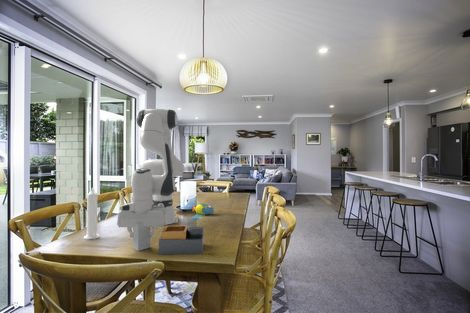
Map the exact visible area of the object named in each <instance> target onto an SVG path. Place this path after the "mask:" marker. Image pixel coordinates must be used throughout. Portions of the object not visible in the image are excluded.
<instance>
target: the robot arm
mask: <svg viewBox="0 0 470 313" xmlns="http://www.w3.org/2000/svg"><path fill="white" fill-rule="evenodd" d="M135 118H136V119H135V120H136V124H137V126H138V127H139V128H140V136H139V142H140V145H141V146H142V148H143V149H144V150H146V151H147V152H150V153H152V154H155V155H157V156H159V157H160V158H158V159H156V158H154V159H153V158H151V159H148V160H145V161H143V162H142V164H141V167H140V168H137V169H135V170H134V171H133V173H132V179H131V191H132V192H131V193H132V197H131V201H129V202H127V203H124V204H122V205H120V206H119V210H120V211H119V212H118V215H117V224H116V225H117V226H118V228H126V229H127V232H128V233H129V238H133V227H135V222H143V226H144V227H150V228H151V230H152V231H150V233H149V235H150V236H149V237H150V238H154V237H155V236H154V233H155V231H156V229H157V228H158V227H159V228H160V227H161V228H163V227H165V226H168V225H171V224H176V223H179V218H178V216H177V214H176V213H175V212H176V211H175V208H174V205H173V203H174V202H173V200H174V199H173V193H174V192H175V190H176V181H175V177H176V178H177V177H181V176H182V175H183V174H184V172H185V164H184V163H183V161H181V160H180V159H179V158H177V156H176V155H175V153H174V150H173V147H172V135H171V130H172V129H175V128H176V127H177V124H178V122H179V119H178V113H177V112H176V111H175V110H173V109H164V108H149V109H146V108H145V109H139V110H138V111H137V113H136V117H135ZM161 158H162V159H161Z"/></svg>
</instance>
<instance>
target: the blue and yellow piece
mask: <svg viewBox="0 0 470 313" xmlns="http://www.w3.org/2000/svg"><path fill="white" fill-rule="evenodd" d="M191 209H192V210H191V211H192V212H194V211H195V213H196V214H194V215H193V216H192V217H191V218H192V219H191V220H200V218H199V217H201V216H203V217H204V215H205V214H206V215H209V214H214V212H215V211H214V210H215V207H214V206H212V205H208V204H206V203H199V204H197V205H192V206H191ZM206 215H205V216H206ZM201 218H202V217H201Z"/></svg>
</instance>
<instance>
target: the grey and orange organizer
mask: <svg viewBox="0 0 470 313" xmlns="http://www.w3.org/2000/svg"><path fill="white" fill-rule="evenodd" d="M204 232H205V231H204V227H202V226H197V225H194V226H189V225H165V226H164V228H163V229H162V232H161V235H160V237H159V239H158V255H160V256H161V255H163V256H164V255H203V251H204V250H203V249H204V242H205V240H204V239H205V238H204V235H205V233H204Z"/></svg>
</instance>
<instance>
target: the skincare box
mask: <svg viewBox="0 0 470 313" xmlns="http://www.w3.org/2000/svg"><path fill="white" fill-rule="evenodd" d="M132 232H133V237H132V238H133V243H132V244H133V248H132V249H133V250H135V251H136V252H139V251H142V250H146V249H149V248H151V237H149V236H150V235H149V233H150V232H151V227H144V226H143V222H135V227H132Z"/></svg>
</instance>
